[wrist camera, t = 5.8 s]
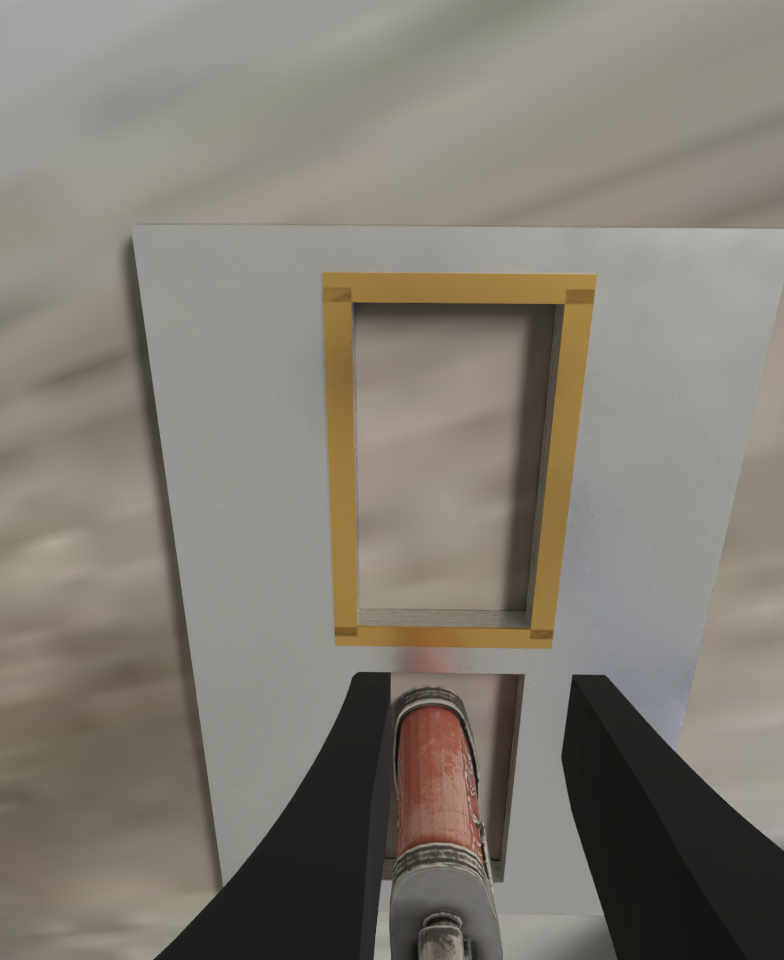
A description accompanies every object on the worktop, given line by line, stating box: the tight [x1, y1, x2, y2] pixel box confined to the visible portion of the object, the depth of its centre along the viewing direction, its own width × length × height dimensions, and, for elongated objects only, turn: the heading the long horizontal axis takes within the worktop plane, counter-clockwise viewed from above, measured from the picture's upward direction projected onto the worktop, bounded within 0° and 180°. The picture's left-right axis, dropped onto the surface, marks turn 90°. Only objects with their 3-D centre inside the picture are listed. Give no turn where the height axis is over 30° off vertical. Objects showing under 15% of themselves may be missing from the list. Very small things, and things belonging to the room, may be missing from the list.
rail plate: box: [131, 224, 784, 916], centre depth 24 cm, size 28×18×1 cm, turn 0°
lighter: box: [389, 685, 503, 960], centre depth 22 cm, size 8×3×10 cm, turn 6°
